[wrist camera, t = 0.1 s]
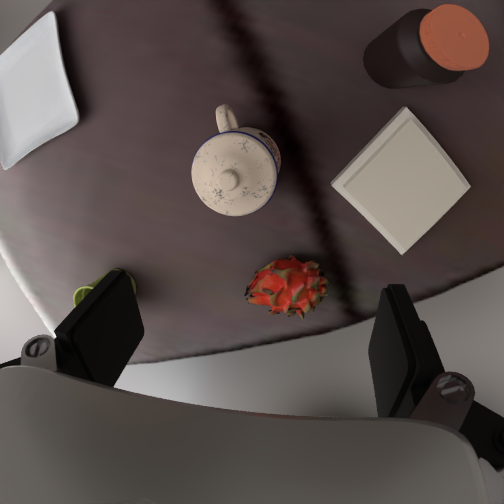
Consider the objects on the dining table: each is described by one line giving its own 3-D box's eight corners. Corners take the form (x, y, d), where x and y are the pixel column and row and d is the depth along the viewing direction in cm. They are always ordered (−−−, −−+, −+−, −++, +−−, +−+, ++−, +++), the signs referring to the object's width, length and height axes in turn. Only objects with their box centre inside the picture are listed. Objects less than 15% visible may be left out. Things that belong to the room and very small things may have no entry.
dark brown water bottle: (351, 63, 32) (398, 28, 14) (382, 28, 29) (446, -25, 11) (393, 99, 33) (470, 102, 15) (423, 64, 30) (513, 47, 12)
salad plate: (65, 9, 32) (51, 7, 29) (92, 120, 40) (78, 123, 37) (-7, 72, 37) (-20, 74, 34) (16, 167, 45) (3, 172, 42)
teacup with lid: (290, 186, 40) (285, 217, 30) (223, 200, 43) (197, 234, 32) (267, 95, 36) (253, 92, 25) (198, 114, 38) (161, 120, 27)
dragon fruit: (334, 267, 46) (258, 272, 51) (324, 239, 39) (236, 247, 44) (334, 323, 43) (253, 324, 47) (324, 305, 36) (229, 308, 40)
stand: (402, 106, 33) (410, 107, 31) (466, 183, 36) (475, 189, 33) (330, 182, 39) (332, 188, 37) (399, 250, 42) (404, 260, 39)
